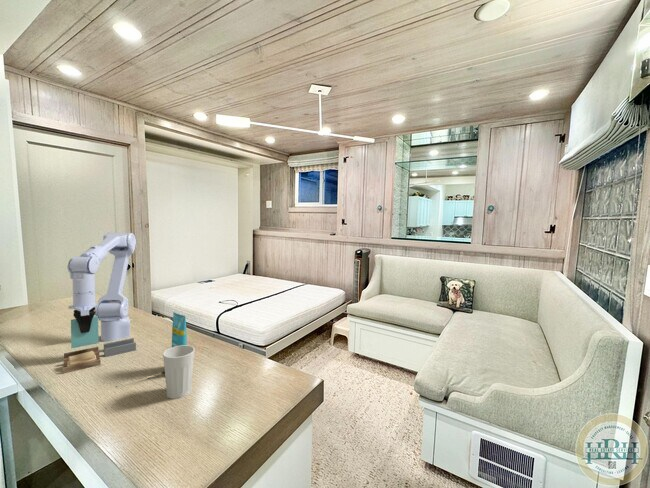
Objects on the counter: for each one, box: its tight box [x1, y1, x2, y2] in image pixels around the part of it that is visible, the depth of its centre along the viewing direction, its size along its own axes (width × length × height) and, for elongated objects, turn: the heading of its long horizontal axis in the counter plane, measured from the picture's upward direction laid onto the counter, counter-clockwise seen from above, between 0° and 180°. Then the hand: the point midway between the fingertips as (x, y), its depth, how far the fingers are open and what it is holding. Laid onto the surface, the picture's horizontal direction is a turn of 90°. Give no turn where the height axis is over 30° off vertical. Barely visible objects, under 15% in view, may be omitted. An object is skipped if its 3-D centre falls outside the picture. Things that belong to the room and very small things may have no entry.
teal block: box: [70, 315, 99, 349], centre depth 95 cm, size 7×3×9 cm, turn 131°
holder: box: [103, 337, 137, 358], centre depth 102 cm, size 9×7×4 cm
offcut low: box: [67, 355, 96, 367], centre depth 91 cm, size 7×4×2 cm, turn 132°
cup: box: [162, 344, 196, 400], centre depth 80 cm, size 8×8×12 cm
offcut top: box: [69, 351, 95, 365], centre depth 91 cm, size 6×3×2 cm, turn 140°
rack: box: [62, 346, 101, 375], centre depth 93 cm, size 9×13×3 cm
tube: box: [171, 311, 188, 348], centre depth 90 cm, size 7×5×19 cm, turn 60°
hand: (85, 330), depth 95 cm, fingers closed on teal block, 3 cm apart
